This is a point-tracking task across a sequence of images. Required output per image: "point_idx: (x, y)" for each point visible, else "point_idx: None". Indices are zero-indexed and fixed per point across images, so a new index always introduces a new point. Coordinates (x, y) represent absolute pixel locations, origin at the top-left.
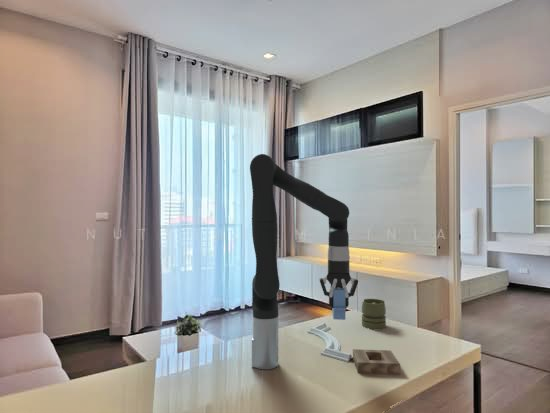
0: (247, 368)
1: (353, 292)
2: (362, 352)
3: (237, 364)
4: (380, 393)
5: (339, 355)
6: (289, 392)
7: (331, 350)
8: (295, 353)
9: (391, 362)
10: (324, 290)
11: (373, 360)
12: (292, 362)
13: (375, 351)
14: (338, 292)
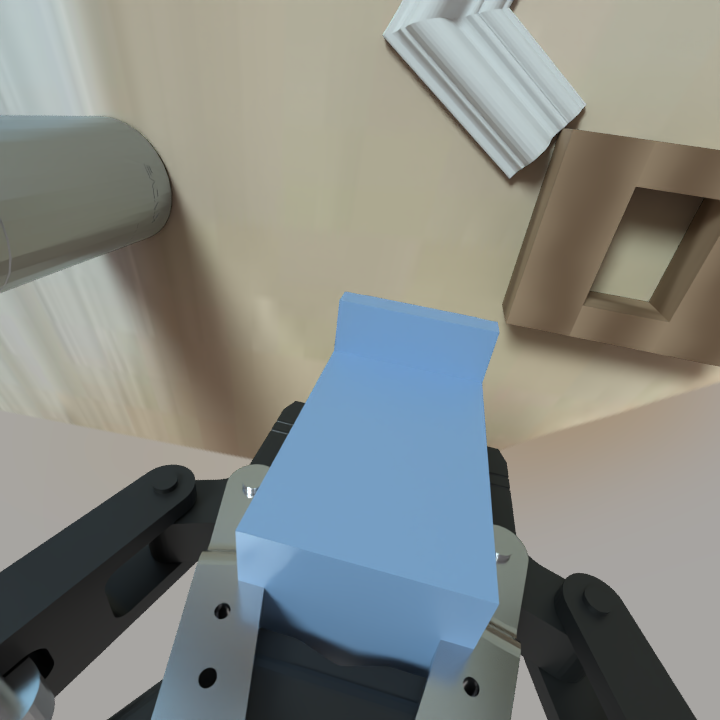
0: None
1: (578, 701)
2: (609, 193)
3: None
4: (508, 446)
5: (479, 122)
6: (237, 395)
7: (444, 62)
8: (236, 18)
9: (686, 346)
10: (129, 591)
11: (602, 312)
12: (229, 163)
13: (715, 181)
14: None
